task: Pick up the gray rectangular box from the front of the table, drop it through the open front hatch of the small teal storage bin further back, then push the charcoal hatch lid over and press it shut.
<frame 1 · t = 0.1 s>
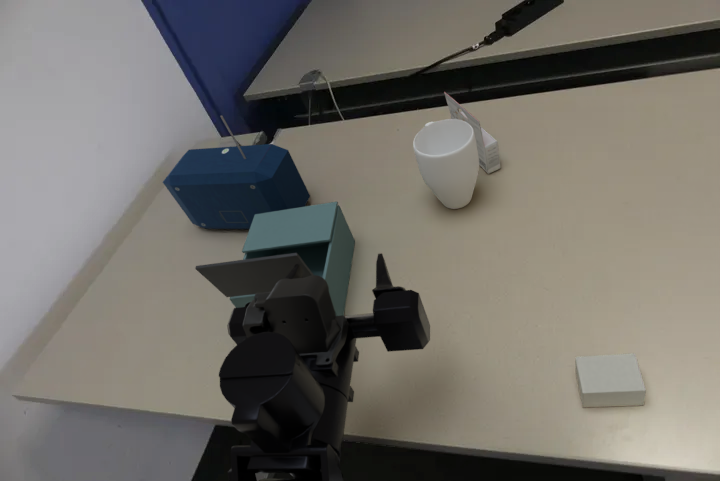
hand: (339, 261, 56), 14 cm above the table, tool horizontal, fingers open, 9 cm apart
hatch: (259, 276, 62), point 12 cm above the table, hinge at 100.0°
gray rectangular box: (608, 387, 53), on the table
radio: (254, 215, 90), on the table
teal storage bin: (306, 284, 75), on the table
mug: (452, 192, 79), on the table
ink cartridge box: (477, 155, 84), on the table
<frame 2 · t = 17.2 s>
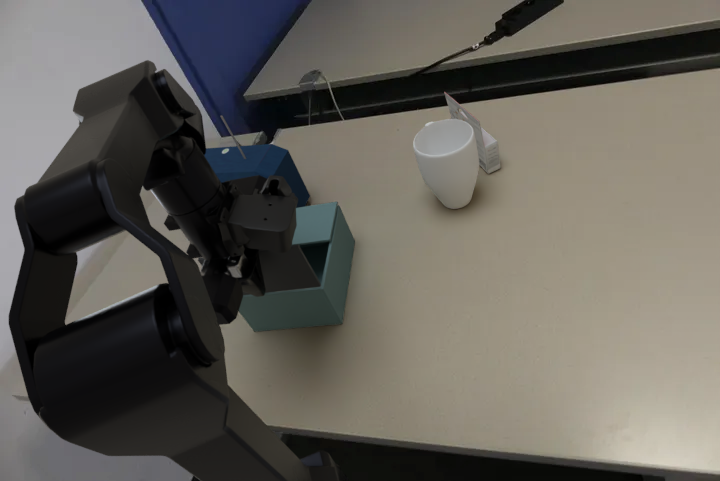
hand: (261, 293, 60), 11 cm above the table, tool pointing down, fingers closed
hatch: (260, 272, 62), point 12 cm above the table, hinge at 90.8°, touching gripper
gray rectangular box: (301, 302, 72), resting on teal storage bin
everything else where it was.
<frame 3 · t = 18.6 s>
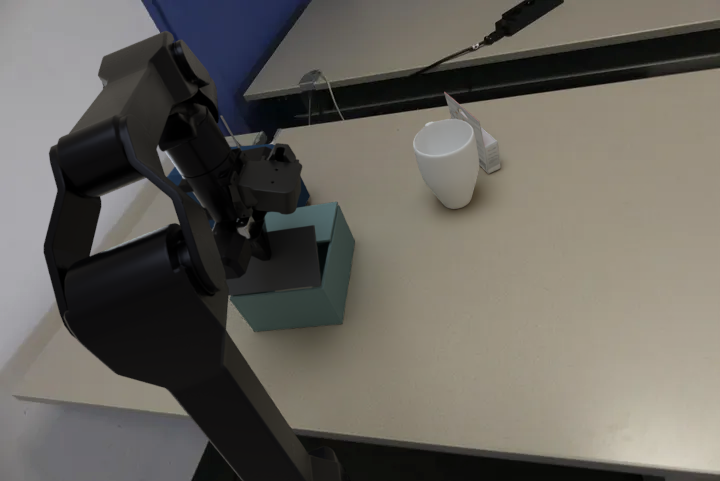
hand: (267, 258, 64), 11 cm above the table, tool pointing down, fingers closed
hatch: (269, 261, 65), point 10 cm above the table, hinge at 42.2°
everything else where it was.
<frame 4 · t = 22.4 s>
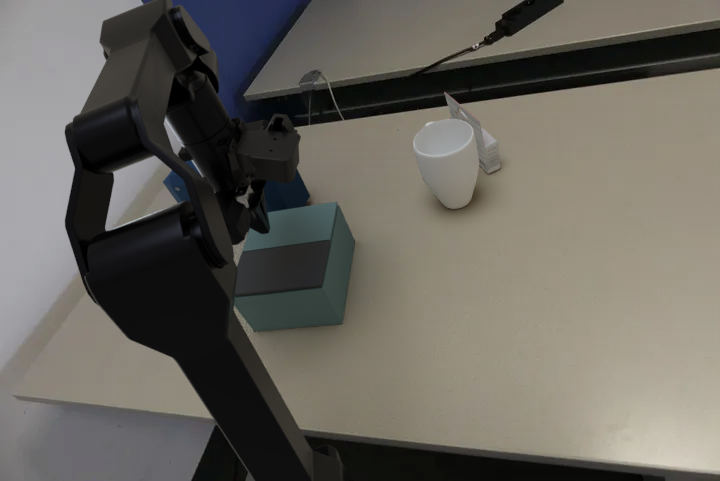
hand: (266, 231, 65), 13 cm above the table, tool pointing down, fingers closed
hatch: (279, 268, 67), point 8 cm above the table, hinge at -0.3°
everything else where it was.
at the end: gray rectangular box inside the target area in the teal storage bin (3.4 cm from its centre), point 0.4 cm above the teal storage bin's base; hatch at +0° (first picture: +100°); the gripper is holding nothing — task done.
